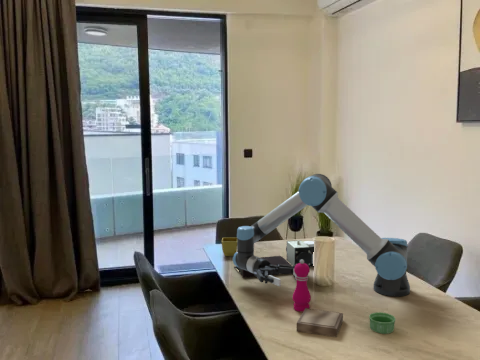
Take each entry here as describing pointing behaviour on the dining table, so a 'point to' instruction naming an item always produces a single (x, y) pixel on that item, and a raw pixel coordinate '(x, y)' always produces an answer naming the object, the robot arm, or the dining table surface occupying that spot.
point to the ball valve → (298, 252)
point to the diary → (273, 261)
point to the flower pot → (229, 246)
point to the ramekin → (382, 322)
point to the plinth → (320, 322)
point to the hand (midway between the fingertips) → (292, 279)
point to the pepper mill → (301, 287)
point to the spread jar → (311, 249)
